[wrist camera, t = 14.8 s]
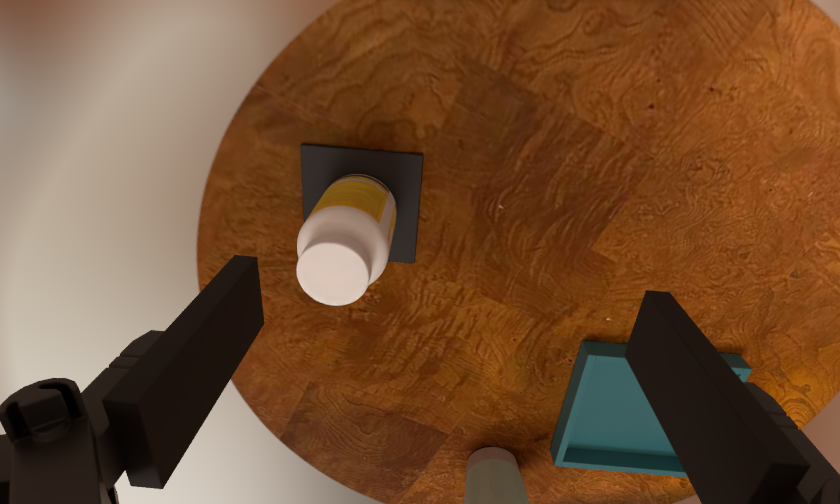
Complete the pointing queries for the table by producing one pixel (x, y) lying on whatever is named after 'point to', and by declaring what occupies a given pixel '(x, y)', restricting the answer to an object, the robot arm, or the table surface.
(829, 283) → the table surface
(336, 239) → the pill bottle
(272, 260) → the table surface
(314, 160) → the mat
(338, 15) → the table surface
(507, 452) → the coffee cup
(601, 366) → the tray
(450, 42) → the table surface
